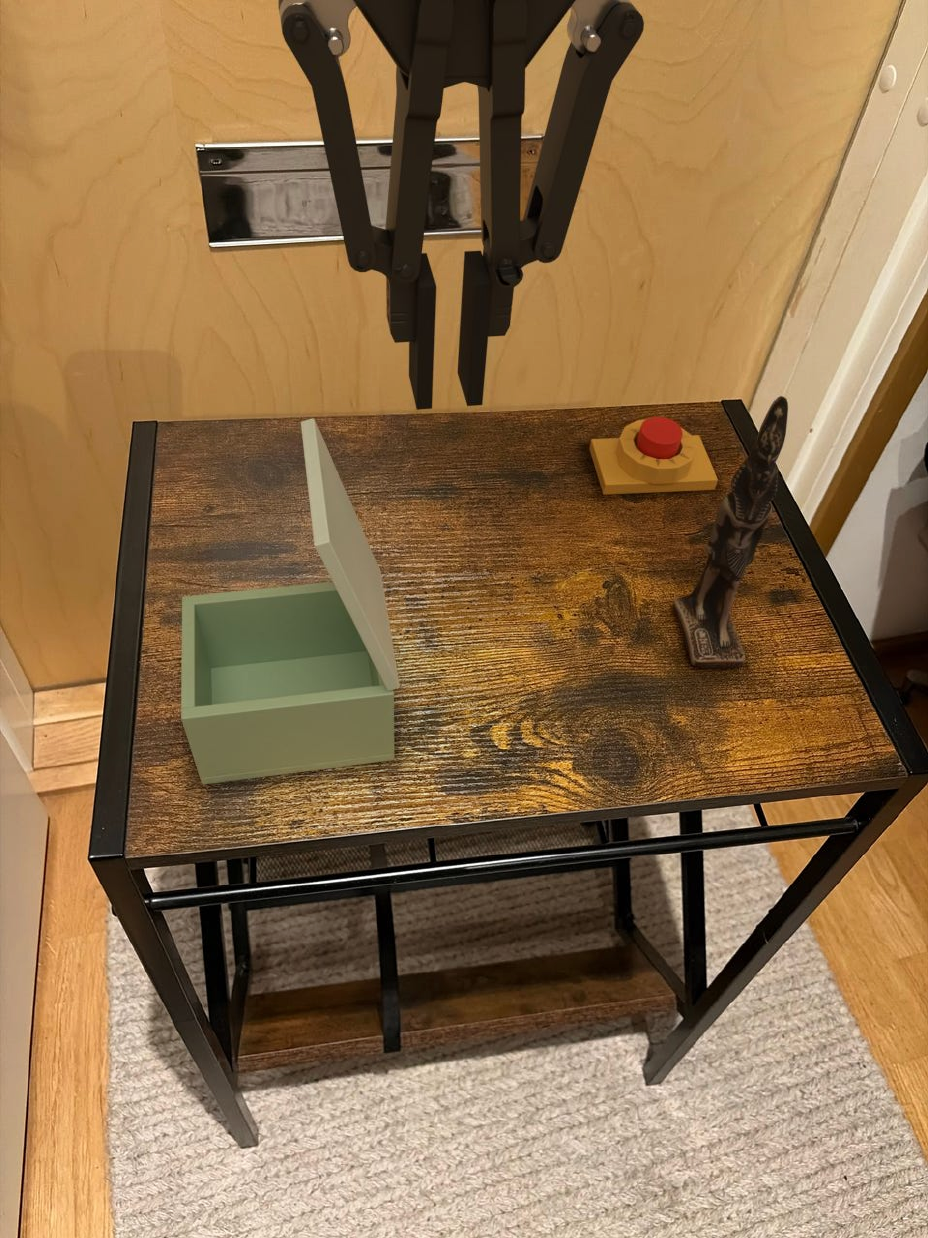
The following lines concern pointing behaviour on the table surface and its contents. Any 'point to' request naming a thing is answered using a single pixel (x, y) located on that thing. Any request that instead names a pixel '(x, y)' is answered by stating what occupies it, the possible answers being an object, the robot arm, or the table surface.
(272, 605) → the hatch box
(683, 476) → the button block
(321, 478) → the hatch lid
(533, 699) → the table surface
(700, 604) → the statue
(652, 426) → the button
